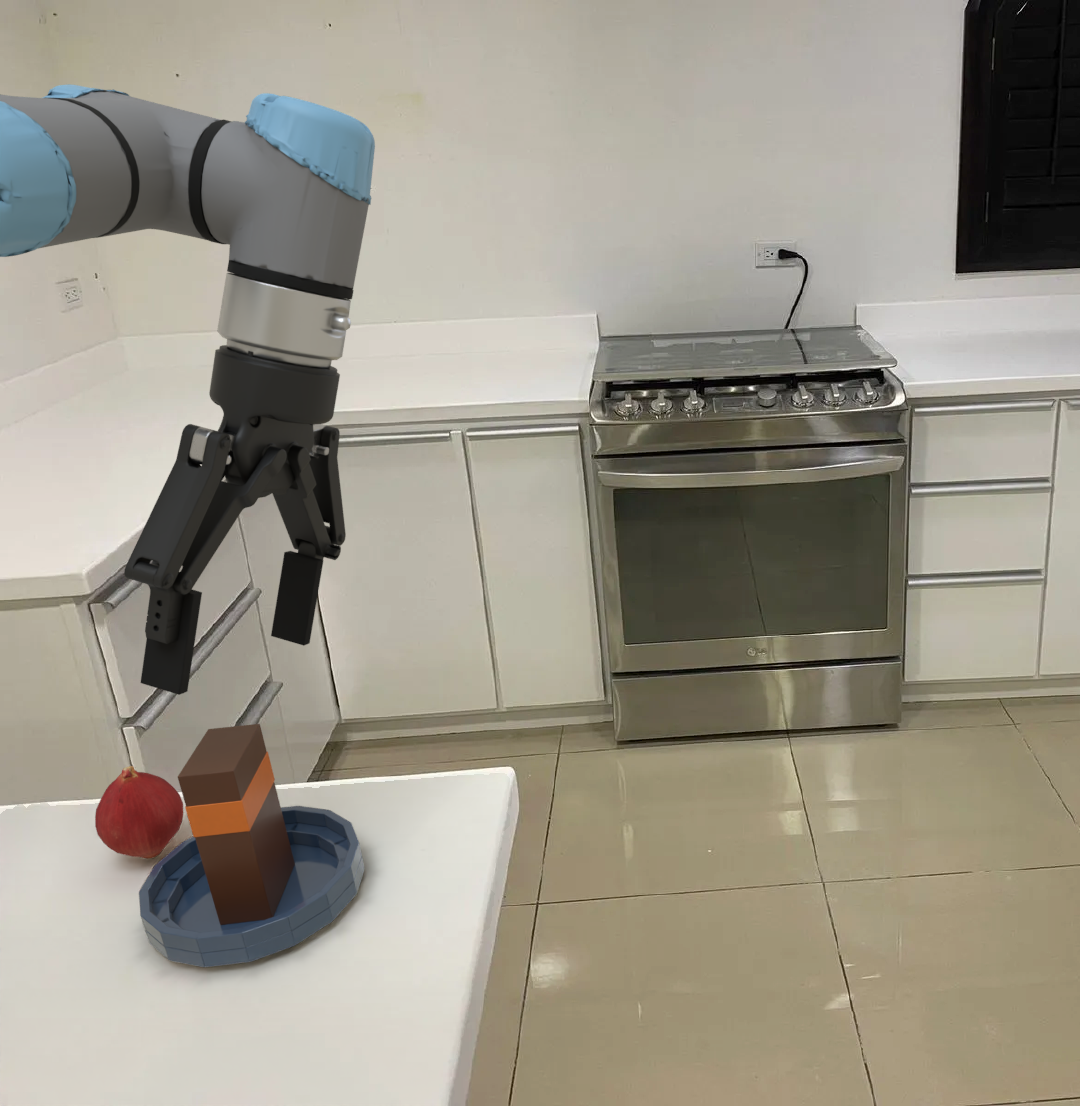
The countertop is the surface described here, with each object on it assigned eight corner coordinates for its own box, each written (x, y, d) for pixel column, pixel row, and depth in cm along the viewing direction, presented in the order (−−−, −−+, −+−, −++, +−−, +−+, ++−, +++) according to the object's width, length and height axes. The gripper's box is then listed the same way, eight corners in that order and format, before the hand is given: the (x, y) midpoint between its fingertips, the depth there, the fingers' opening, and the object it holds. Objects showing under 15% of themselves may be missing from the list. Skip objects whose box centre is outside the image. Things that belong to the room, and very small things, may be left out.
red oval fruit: (91, 872, 81) (61, 782, 78) (154, 827, 86) (127, 740, 83) (150, 886, 79) (121, 794, 76) (210, 839, 84) (185, 751, 81)
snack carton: (218, 926, 74) (175, 777, 69) (245, 869, 79) (207, 728, 75) (273, 919, 74) (233, 771, 70) (296, 863, 80) (260, 722, 75)
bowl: (116, 986, 70) (103, 949, 69) (192, 850, 83) (182, 818, 82) (341, 958, 71) (332, 922, 70) (380, 829, 84) (374, 796, 83)
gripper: (206, 359, 57) (153, 731, 61) (421, 371, 81) (374, 636, 85) (82, 328, 58) (37, 695, 62) (331, 349, 82) (288, 611, 86)
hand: (232, 662), depth 74 cm, fingers open, 13 cm apart
